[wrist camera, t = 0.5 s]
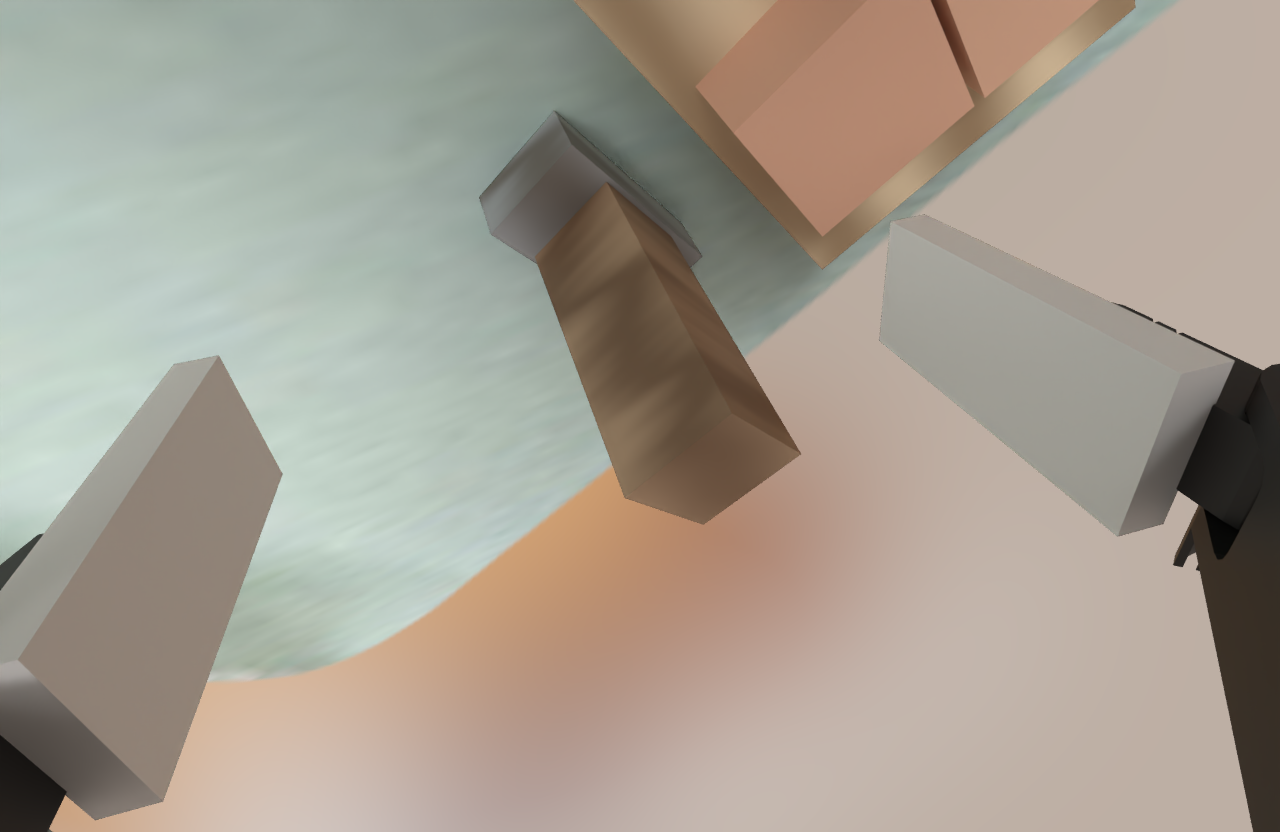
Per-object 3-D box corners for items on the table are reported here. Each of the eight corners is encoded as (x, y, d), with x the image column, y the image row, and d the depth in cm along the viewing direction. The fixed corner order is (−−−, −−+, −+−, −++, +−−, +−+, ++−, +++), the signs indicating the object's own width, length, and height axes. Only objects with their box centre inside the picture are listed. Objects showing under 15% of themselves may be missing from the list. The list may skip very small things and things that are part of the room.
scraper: (613, 288, 32) (730, 538, 23) (478, 197, 26) (570, 485, 18) (681, 223, 30) (834, 466, 22) (554, 110, 24) (694, 382, 16)
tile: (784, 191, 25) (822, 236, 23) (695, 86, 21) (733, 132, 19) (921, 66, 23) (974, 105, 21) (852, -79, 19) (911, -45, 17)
